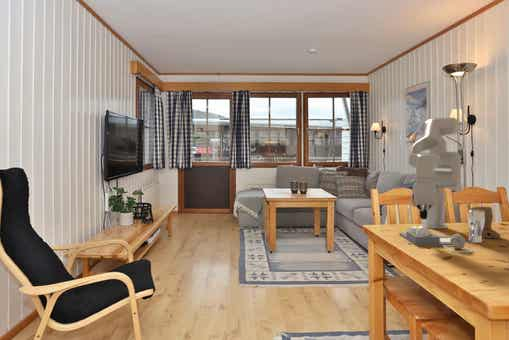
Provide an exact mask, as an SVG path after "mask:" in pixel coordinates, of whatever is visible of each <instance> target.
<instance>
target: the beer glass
mask: <svg viewBox="0 0 509 340" xmlns="http://www.w3.org/2000/svg"><path fill="white" fill-rule="evenodd" d="M484 223H485V211H483V210H471V209H469V210H468V215H467V225H468V233H469V234H468V239H467V241H468V242H469V243H473V244H482V243H483V237H482V232H483V228H484Z"/></svg>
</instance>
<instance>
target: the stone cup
mask: <svg viewBox="0 0 509 340" xmlns="http://www.w3.org/2000/svg"><path fill="white" fill-rule="evenodd" d="M470 210H483V211H485V223H484V228H483V232H482V238H484V239H498V238H501V236H502V235H501V234H500V233H498V232H497V231H496V230H494V229H492V222H493V216H494V215H493V208H492V207H491V206H486V205H485V206H473V207H471V208H470Z"/></svg>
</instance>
